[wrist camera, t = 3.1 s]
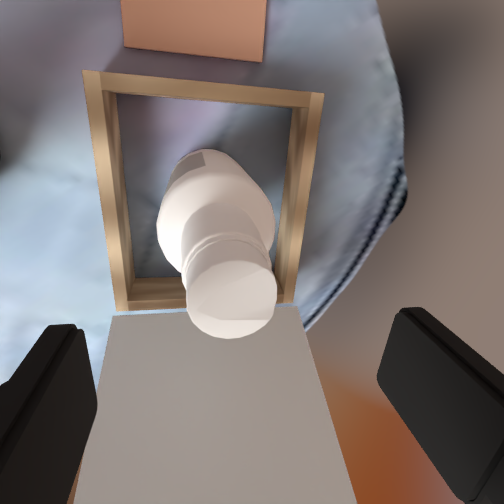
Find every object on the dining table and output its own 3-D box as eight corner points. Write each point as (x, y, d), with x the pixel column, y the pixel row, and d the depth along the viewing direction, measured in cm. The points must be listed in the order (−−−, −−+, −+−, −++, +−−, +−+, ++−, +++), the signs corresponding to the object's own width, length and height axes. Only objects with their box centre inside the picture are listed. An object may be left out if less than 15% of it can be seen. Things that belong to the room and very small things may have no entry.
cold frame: (99, 76, 22) (81, 69, 18) (305, 96, 25) (324, 93, 21) (125, 287, 29) (116, 311, 26) (281, 281, 32) (292, 302, 29)
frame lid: (29, 706, 12) (40, 696, 13) (390, 606, 15) (379, 604, 16) (112, 314, 24) (115, 322, 25) (297, 305, 27) (294, 312, 28)
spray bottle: (160, 154, 25) (104, 232, 9) (240, 142, 26) (323, 194, 10) (178, 229, 28) (162, 389, 12) (250, 217, 29) (325, 351, 13)
